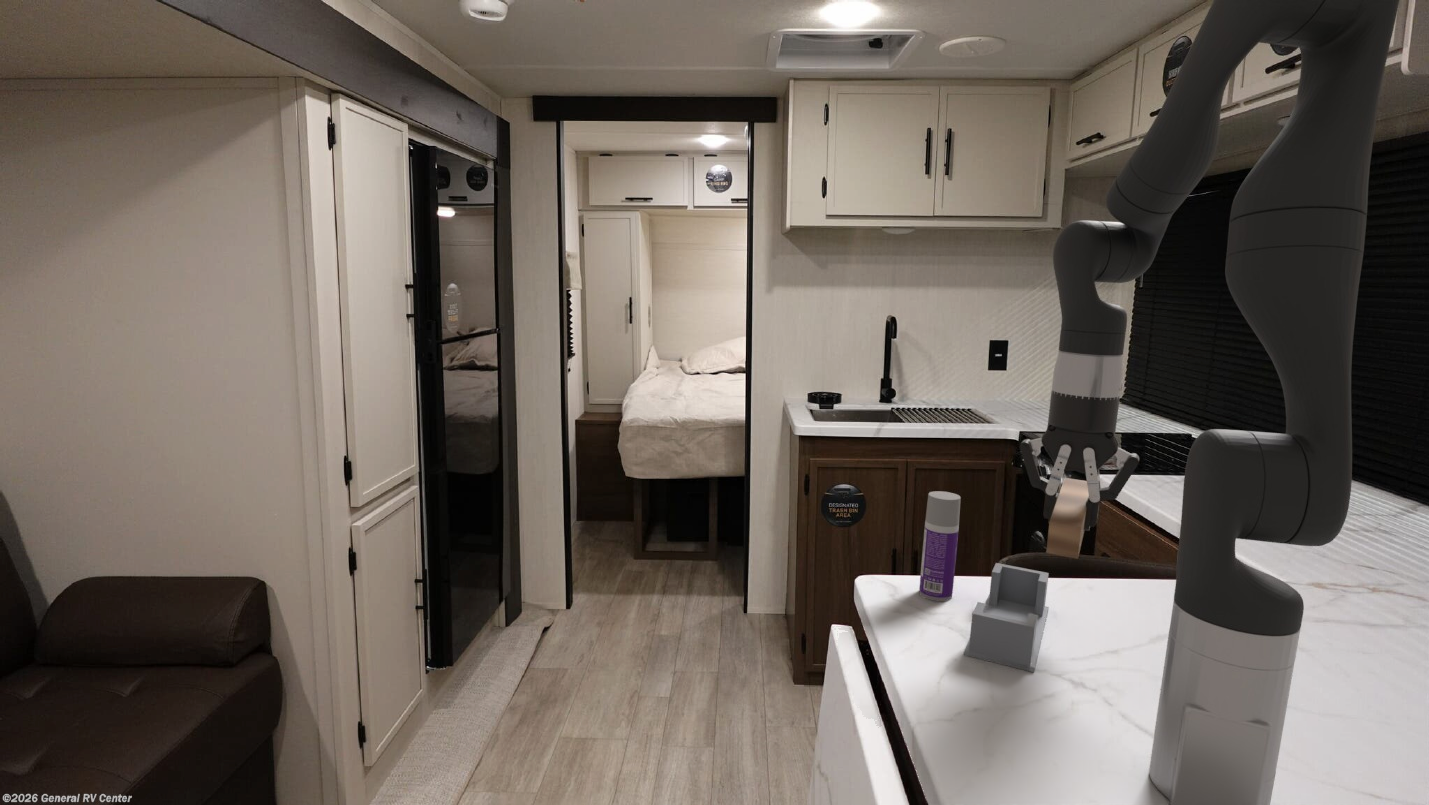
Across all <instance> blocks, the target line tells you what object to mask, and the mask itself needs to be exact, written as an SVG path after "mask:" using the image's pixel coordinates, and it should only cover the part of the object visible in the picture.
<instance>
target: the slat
mask: <svg viewBox="0 0 1429 805" xmlns="http://www.w3.org/2000/svg"><path fill="white" fill-rule="evenodd" d="M1058 493H1059V496H1058V499H1057V502H1056V504H1055V507H1054V510H1053V513H1052V516H1051V519H1050V522H1049V525H1048V531H1047V541H1046V542H1047V543H1046V551H1045V552H1046V554H1050V555H1054V556H1055V555H1056V556H1061V557H1065V558H1072V559H1076V560H1078V559H1079V555H1080V551H1081V547H1082V542H1083V538H1084V534H1085V531H1086V530H1084V524H1085V516H1086V508H1087V507H1086V501H1087V498H1089V493H1088V485H1087V480H1082V479H1075V478H1070V477H1069V478H1068V477H1064V479H1063V482H1062V485H1061V488H1060V490H1059V492H1058Z"/></svg>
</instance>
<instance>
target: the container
mask: <svg viewBox="0 0 1429 805" xmlns="http://www.w3.org/2000/svg"><path fill="white" fill-rule="evenodd" d="M927 494H928V495H927V503H926V513H925V521H924V531H923V543H922V555H921V565H920V566H921V567H920V578H919V590H918V592H919V595H920V596H921V597H923V598H925V599H927V600H931V601H935V602H947V601H949V600H951V599H953V594H954V592H953V591H954V583H955V582H954V581H955V572H956V570H955V569H956V561H957V552H958V550H957V549H958V538H959V528H960V527H959V526H960V511H961V500H962V499H961V496H960V495H959V494H957V493H953V492H949V491H942V490H941V491H939V490H937V491H936V490H935V491H929V493H927Z"/></svg>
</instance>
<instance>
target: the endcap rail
mask: <svg viewBox="0 0 1429 805" xmlns="http://www.w3.org/2000/svg"><path fill="white" fill-rule="evenodd" d="M1049 574H1050V573H1049V572H1045V571H1039V570H1036V569H1035V570H1034V569H1029V568H1025V567H1019V566H1014V565H1009V564H1003V563H999V562H998V563H997V562H995V564H994V567H993V569H992V571H991V575H990V576H991V580H990V587H989V588H990V589H989V594H988V595H987V599H986V601H985V603H984V602H980V601H977V603H976V604H975V607H974V609H973V611H972V614H971V623H970V624H971V625H970V635H969V639H968V641H967V643H966V646H965V648H964V650H963V655H965V656H967V657H972V658H974V659H980V660H983V661H987V662H991V663H995V664H999V665H1002V666H1006V667H1010V668H1016V669H1019V670H1023V671H1026V672H1031V673H1035V670H1036V667H1037V662H1038V658H1039V653H1040V650H1041V645H1042V641H1041V640H1042V639H1043V637H1044V632H1043V631H1045V628H1046V627H1045V626H1046V623H1047V619H1048V614H1049V610H1050V608H1049V606H1047V605H1046V599H1047V593H1048V592H1047V590H1048V584H1049V583H1048V582H1049V576H1050V575H1049ZM1046 618H1047V619H1046ZM1045 622H1046V623H1045Z"/></svg>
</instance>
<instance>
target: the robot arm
mask: <svg viewBox="0 0 1429 805" xmlns="http://www.w3.org/2000/svg"><path fill="white" fill-rule="evenodd" d="M1399 4H1400V0H1213V1H1212V4H1211V5H1210V7H1209V9H1208V11H1207V13H1206V15H1205V17H1204V20H1203V22H1202V24H1201V25H1200V28H1199V30H1198V31H1197V34H1196V36H1195V37H1194V40H1193V42H1192V44H1191V46H1190V48H1189V49H1188V53H1187V54H1186V56H1185V58H1184V60H1183V62H1182V64H1181V66H1180V68H1179V70H1178V72H1177V75H1176V77H1175V79H1174V81H1173V83H1172V85H1171V87H1170V90H1169V92H1168V94H1167V96H1166V98H1165V100H1164V102H1163V105H1162V106H1161V108H1160V110H1159V112H1158V114H1157V115H1156V118H1155V119H1154V121H1153V122H1152V124H1151V126H1150V127H1149V129H1148V131H1147V133H1146V134H1145V136H1144V137H1143V138H1142V140H1141V142H1140V143H1139V144H1138V146H1137V147H1136V149H1135V150H1134V151H1133V153H1132V154H1131V156H1130V158H1128V160H1127V161H1126V163H1125V165H1124V166H1123V168H1122V169H1121V170H1120V172H1119V173H1118V175H1117V177H1116V178H1115V179H1114V180H1113V182H1112V184H1110V185H1111V186H1110V187H1109V189H1108V191H1107V193H1106V197H1105V205H1106V208H1107V210H1108V212H1109V213H1110V214H1111V216H1113V218H1114V219H1115V220H1117V221H1106V220H1105V221H1102V220H1099V221H1098V220H1076V221H1073V222H1071V223H1069V224H1068V225H1066V226H1065V227H1064V228H1063V229H1062V230H1061V232H1060V233H1059V234H1058V236H1057V238H1056V241H1055V244H1054V247H1053V252H1052V262H1053V270H1054V274H1055V275H1054V276H1055V280H1056V286H1057V291H1058V298H1059V306H1060V310H1061V311H1060V312H1061V313H1060V314H1061V325H1060V333H1059V343H1058V351H1057V356H1056V360H1055V364H1054V367H1053V375H1052V383H1051V384H1052V386H1051V393H1050V401H1049V410H1048V419H1047V427H1046V430H1045V432H1044V433H1043V434H1042V436H1041V437H1038V438H1035V439H1030V438H1026V439H1023V440H1022V442H1020V444H1019V450H1020V454H1021V457H1022V459H1023V460H1022V461H1023V463H1024V466H1025V468H1026V473H1027V476H1028V479H1029V482H1030V485H1031V486H1032V487H1033V488H1034V489H1039V490H1041V491H1042V492H1043V493H1044V503H1043V504H1044V505H1043V512H1042V515H1043V518H1044V519H1047V520H1048V521H1047V524H1049V522H1050V519H1051V516H1052V513H1053V510H1054V507H1055V504H1056V502H1057V499H1058V496H1059V493H1060V492H1058V489H1059V486H1060V484H1061V481H1062V479H1063V475H1064V473H1065V472H1073V471H1075V472H1077V473H1080V474H1084V475H1085V478H1086V481H1087V485H1088V493H1089V498H1087V501H1086V507H1087V508H1086V516H1085V524H1084V530H1085V531H1087V532H1088V531H1090V528H1095V527H1096V525H1097V522H1098V518H1099V517H1098V515H1099V508H1100V503H1102V501H1107V500H1108V501H1114V500H1116V499H1117V498H1118V496H1119V495H1120V493H1121V491H1122V490H1123V489H1124V487H1125V486H1126V484H1127V482H1128V481H1129V479H1130V478H1131V476H1132V475H1133V473H1134V472H1135V470H1136V468H1137V467H1138V465H1139V462H1140V456H1139V454H1137V453H1135V452H1132V453H1130V452H1128V450H1127V451H1126V450H1125V449H1122V448H1121V447H1119V444H1118V443H1119V442H1118V441H1117V439H1116V429H1117V421H1118V414H1119V406H1120V398H1121V393H1122V392H1121V391H1122V389H1123V382H1122V381H1123V375H1124V373H1123V372H1124V368H1123V359H1124V358H1123V355H1124V349H1125V340H1126V335H1127V334H1126V332H1127V327H1128V326H1127V324H1128V314H1127V310H1126V309H1124V307H1122V306H1121V305H1118V304H1114V303H1110V302H1106V301H1103V299H1101V298H1100V296H1099V294H1098V291H1097V287H1096V283H1111V284H1116V283H1117V284H1121V283H1122V284H1124V283H1128V282H1131V281H1133V280H1135V279H1138V278H1139V277H1141V276H1142V275H1144V273H1146V272H1147V271H1148V269H1150V267H1151V265H1152V264H1153V262H1154V261H1155V260H1154V259H1155V258H1156V255H1157V253H1158V250H1159V247H1160V244H1161V242H1162V239H1163V238H1164V236H1165V233H1166V231H1167V228H1168V227H1169V226H1168V225H1169V223H1170V221H1171V219H1172V216H1173V215H1174V214H1175V212H1176V211H1177V210H1178V209H1179V208H1180V207H1181V205H1182V204H1183V203H1184V202H1185V200H1186V199H1187V198H1188V197H1189V195H1190V194H1191V193H1192V192H1193V191H1194V189H1195V188H1196V186H1198V184H1199V182H1201V180H1202V179H1203V177H1204V176H1205V175H1206V173H1207V171H1208V170H1209V168H1210V166H1211V164H1212V163H1213V160H1214V158H1215V155H1216V151H1217V148H1218V144H1219V136H1220V135H1219V134H1220V127H1221V126H1220V125H1221V114H1222V113H1221V110H1222V103H1223V99H1224V94H1225V90H1226V87H1227V85H1228V83H1229V81H1230V79H1231V77H1232V75H1234V72H1235V71H1236V70H1237V68H1238V67H1239V66H1240V64H1241V63H1242V61H1243V60H1245V58H1246V57H1247V55H1248V54H1249V53H1250V52H1252V50H1253V49H1254V48H1255V47H1257V45H1258V44H1260V43H1262V44H1266V45H1267V44H1268V45H1276V46H1284V47H1291V48H1299V51H1300V57H1301V58H1300V62H1301V63H1300V74H1299V82H1298V86H1297V92H1296V98H1295V102H1294V106H1293V109H1292V111H1291V114H1290V116H1289V118H1288V120H1287V121H1286V123H1285V125H1284V126H1283V128H1282V130H1281V131H1279V134H1278V135H1277V136H1276V137H1275V139H1274V140H1272V143H1271V144H1270V145H1269V147H1268V148H1267V149H1266V150H1265V152H1263V154H1262V155H1261V157H1260V158H1259V159H1258V161H1257V162H1256V163H1255V164H1254V165H1253V167H1252V168H1251V170H1250V172H1248V174H1247V176H1246V177H1245V179H1244V180H1243V181H1242V183H1241V185H1240V186H1239V187H1238V190H1237V191H1236V193H1235V195H1234V198H1233V201H1232V204H1231V207H1230V208H1231V209H1230V214H1229V222H1228V223H1229V224H1228V232H1227V233H1228V234H1227V245H1226V255H1225V256H1226V258H1225V269H1224V274H1225V280H1226V285H1227V287H1228V290H1229V293H1230V294H1231V297H1232V299H1233V301H1234V302H1235V304H1236V306H1237V307H1238V309H1239V311H1240V312H1241V315H1242V316H1243V317H1244V319H1245V321H1246V322H1247V324H1248V325H1249V327H1250V328H1251V329H1252V331H1253V333H1254V334H1255V335H1256V337H1257V338H1258V340H1259V342H1260V343H1261V345H1262V346H1263V347H1264V349H1265V351H1266V353H1267V354H1268V356H1269V358H1270V359H1271V362H1272V364H1273V365H1274V368H1275V370H1276V373H1277V375H1278V377H1279V380H1280V384H1281V387H1282V392H1283V399H1284V406H1285V418H1286V419H1285V422H1286V424H1285V433H1279V432H1278V433H1277V432H1265V431H1252V430H1240V429H1227V428H1226V429H1223V428H1222V429H1221V428H1213V429H1212V428H1211V429H1208V430H1204V431H1203V432H1201V433H1200V434H1199V435H1198V436H1197V437H1196V438H1195V440H1194V441H1193V443H1192V445H1191V448H1190V450H1189V452H1188V454H1187V460H1186V465H1185V468H1184V469H1185V470H1184V477H1183V478H1184V479H1183V489H1182V490H1183V491H1182V504H1181V520H1180V532H1179V539H1178V540H1179V541H1178V547H1177V556H1176V571H1175V572H1176V575H1175V587H1174V594H1173V603H1172V608H1171V609H1172V610H1171V618H1170V625H1169V630H1168V637H1167V642H1166V643H1167V645H1166V650H1165V658H1164V662H1163V663H1164V665H1163V670H1162V671H1163V672H1162V676H1161V677H1162V679H1161V685H1160V692H1159V699H1158V706H1157V712H1156V720H1155V726H1154V727H1155V728H1154V733H1153V742H1152V748H1151V754H1150V763H1149V769H1148V772H1149V777H1150V779H1151V782H1152V783H1153V784H1154V786H1155V788H1156V789H1158V791H1159V792H1161V793H1162V794H1163V795H1164V796H1165V797H1166V798H1167V799H1168V801H1169V805H1271V803H1272V798H1273V797H1272V796H1273V791H1274V790H1273V789H1274V785H1275V780H1276V773H1277V767H1278V762H1279V755H1280V749H1281V743H1282V737H1283V731H1284V726H1285V720H1286V714H1287V709H1288V701H1289V696H1290V690H1291V685H1292V679H1293V678H1292V677H1293V673H1294V668H1295V662H1296V658H1297V652H1298V651H1297V650H1298V646H1299V641H1300V640H1299V639H1300V634H1301V629H1302V628H1301V627H1302V622H1303V618H1304V617H1303V615H1304V607H1305V604H1304V600H1303V597H1302V595H1301V593H1299V592H1298V590H1297V589H1295V588H1294V587H1292V586H1291V585H1290V584H1289V583H1287V582H1285V581H1283V580H1281V579H1280V578H1277V577H1275V576H1273V575H1271V574H1269V573H1267V572H1264V571H1261V570H1259V569H1258V568H1257V569H1256V568H1254V567H1252V566H1250V565H1248V564H1246V563H1244V562H1243V561H1241V560H1239V559H1238V558H1237V557H1236V539H1239V540H1245V541H1256V542H1265V543H1266V542H1267V543H1276V544H1285V545H1291V546H1292V545H1293V546H1303V547H1321V546H1324V545H1327V544H1329V543H1331V542H1333V541H1334V539H1336V538H1337V536H1338V535H1339V534H1340V532H1341V530H1342V528H1343V527H1344V524H1345V522H1346V519H1347V516H1348V511H1349V508H1350V507H1349V506H1350V500H1351V492H1352V482H1353V481H1352V480H1353V478H1352V477H1353V476H1352V475H1353V474H1352V473H1353V434H1352V433H1353V432H1352V429H1353V427H1352V424H1353V422H1352V418H1353V417H1352V361H1353V360H1352V359H1353V347H1354V346H1353V345H1354V343H1353V342H1354V333H1355V322H1356V315H1357V304H1358V303H1357V302H1358V296H1359V288H1360V286H1359V285H1360V281H1361V280H1360V279H1361V273H1362V272H1361V271H1362V267H1363V258H1364V253H1365V252H1364V251H1365V240H1366V229H1367V216H1368V204H1369V203H1368V198H1369V181H1370V180H1369V179H1370V169H1371V168H1370V167H1371V161H1372V160H1371V159H1372V152H1373V143H1374V139H1375V138H1374V136H1375V130H1376V122H1377V113H1378V106H1379V101H1380V100H1379V99H1380V94H1381V89H1382V84H1383V77H1384V73H1385V68H1386V64H1387V59H1388V55H1389V51H1390V46H1391V42H1392V41H1391V40H1392V37H1393V33H1394V32H1393V31H1394V27H1395V24H1396V23H1395V22H1396V19H1397V18H1396V17H1397V15H1398V8H1399V6H1400V5H1399ZM1248 56H1249V55H1248ZM1042 447H1044V449H1045V451H1046V452H1047V454H1048V455H1049V457H1050V459H1051V460H1052V461H1053V464H1054V466H1053V467H1052V469H1051V474H1050V476H1049V479H1047V478H1045V477H1044V476H1043V473H1042V470H1041V469H1042V468H1041V466H1040V463H1039V460H1038V456H1039V455H1040V454H1041V448H1042ZM1113 457H1116V459H1117V460H1116V463H1115V464H1116V467H1117V468H1118V471H1117V472H1116V474H1115V475H1114V477H1113V479H1112V481H1111V482H1110V483H1109V486H1106V487H1105V486H1104V487H1101V479H1100V476H1101V475H1100V469H1101V468H1102V467H1103V466H1104V465H1105V464H1106V463H1107V462H1108V461H1109V460H1111V459H1112V458H1113Z"/></svg>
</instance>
